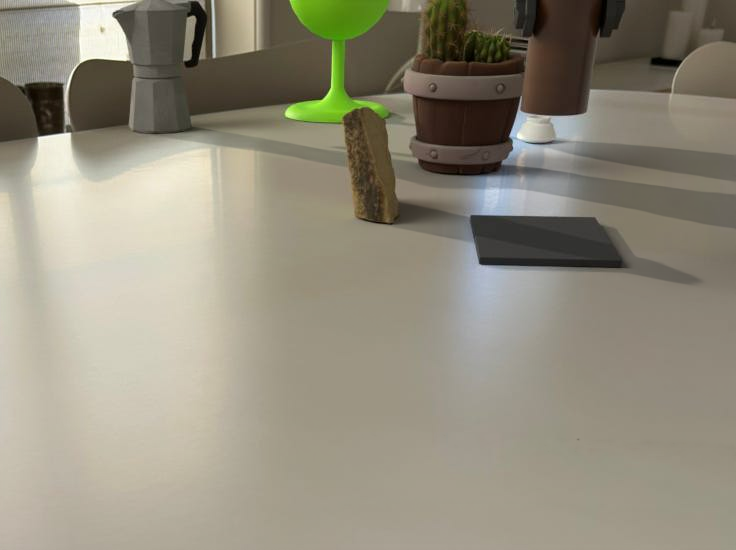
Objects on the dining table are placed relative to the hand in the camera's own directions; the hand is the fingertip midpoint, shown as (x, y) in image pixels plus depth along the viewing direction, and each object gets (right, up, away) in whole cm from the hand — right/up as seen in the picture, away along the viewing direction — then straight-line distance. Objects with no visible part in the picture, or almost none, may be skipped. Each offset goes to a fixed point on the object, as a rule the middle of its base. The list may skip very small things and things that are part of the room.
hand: (568, 28), depth 77 cm
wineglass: (-10, +36, +86) cm, 94 cm away
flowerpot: (+2, +13, +51) cm, 53 cm away
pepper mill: (0, -4, +5) cm, 6 cm away
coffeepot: (-36, +30, +77) cm, 90 cm away
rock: (-10, 0, +32) cm, 34 cm away
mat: (+3, -8, +21) cm, 22 cm away
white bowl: (+15, +23, +66) cm, 71 cm away
